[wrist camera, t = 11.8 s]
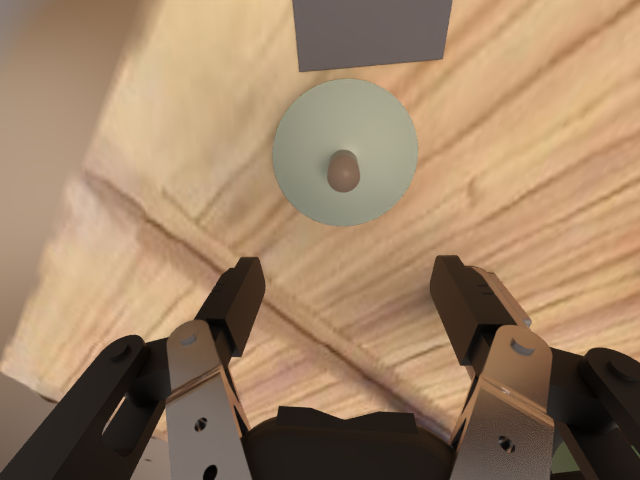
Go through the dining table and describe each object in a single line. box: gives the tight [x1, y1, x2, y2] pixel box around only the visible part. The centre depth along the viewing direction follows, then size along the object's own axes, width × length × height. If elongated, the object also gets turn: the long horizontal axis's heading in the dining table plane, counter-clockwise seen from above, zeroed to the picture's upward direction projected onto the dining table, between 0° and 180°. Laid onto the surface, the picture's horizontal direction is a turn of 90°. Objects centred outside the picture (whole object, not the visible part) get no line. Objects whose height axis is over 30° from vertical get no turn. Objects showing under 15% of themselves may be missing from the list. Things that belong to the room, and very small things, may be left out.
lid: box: [273, 79, 418, 226], centre depth 24 cm, size 15×15×5 cm
